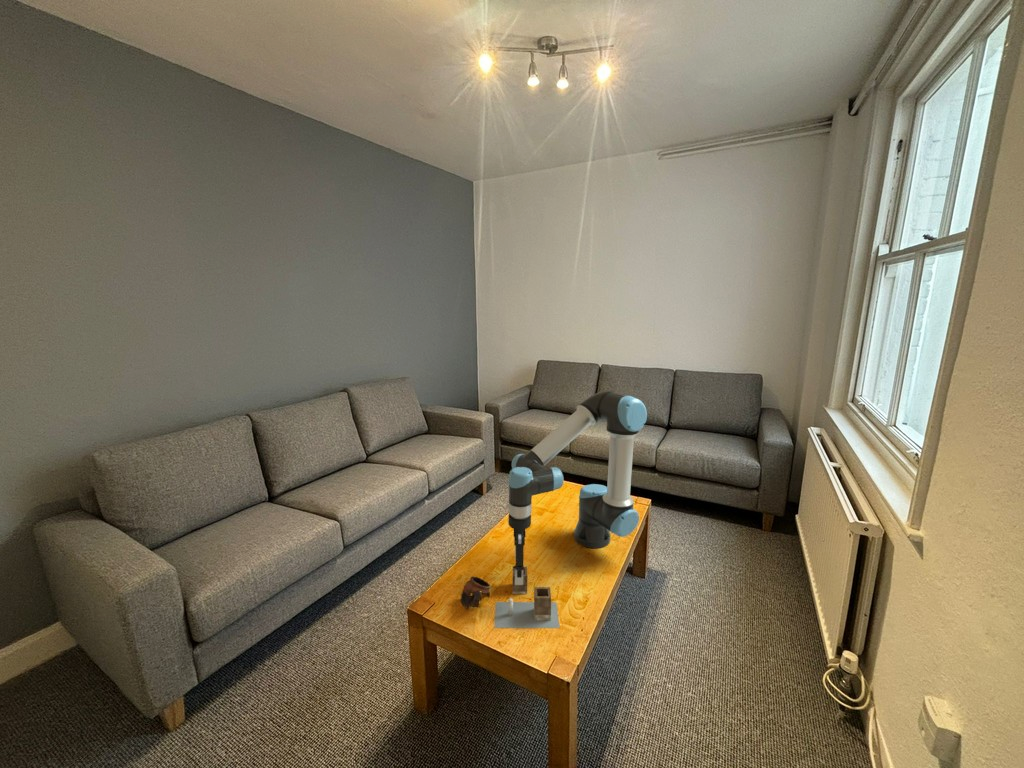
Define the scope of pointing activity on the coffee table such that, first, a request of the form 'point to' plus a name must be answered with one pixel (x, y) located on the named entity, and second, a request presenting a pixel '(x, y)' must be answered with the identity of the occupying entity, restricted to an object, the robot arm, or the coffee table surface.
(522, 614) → the pin board
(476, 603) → the pottery mug
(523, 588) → the sleeve loose
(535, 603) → the sleeve seated
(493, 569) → the coffee table surface
